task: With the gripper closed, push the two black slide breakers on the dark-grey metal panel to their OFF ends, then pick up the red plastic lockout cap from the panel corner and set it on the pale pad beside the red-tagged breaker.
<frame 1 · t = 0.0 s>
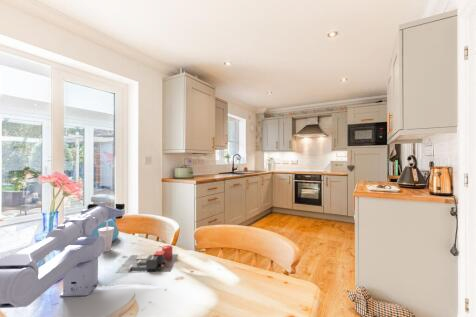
hand: (113, 206, 92), 22 cm above the table, tool horizontal, fingers open, 7 cm apart
smoothie: (105, 250, 102), on the table
breaker panel: (149, 265, 87), on the table
lockout cap: (167, 257, 93), point 1 cm above the table, touching breaker panel
breaker tagged: (159, 257, 87), point 4 cm above the table, slide at 0.0 cm
breaker plain: (152, 262, 83), point 3 cm above the table, slide at 0.0 cm
teapot: (96, 242, 113), on the table
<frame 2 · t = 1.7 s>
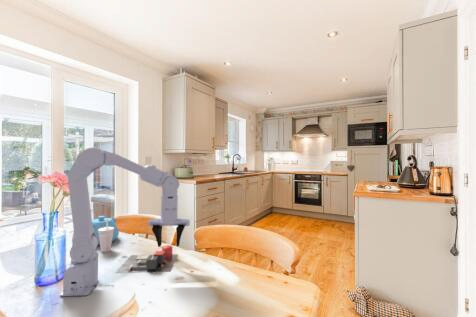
hand: (168, 245, 83), 9 cm above the table, tool pointing down, fingers open, 6 cm apart
nothing on the table moved.
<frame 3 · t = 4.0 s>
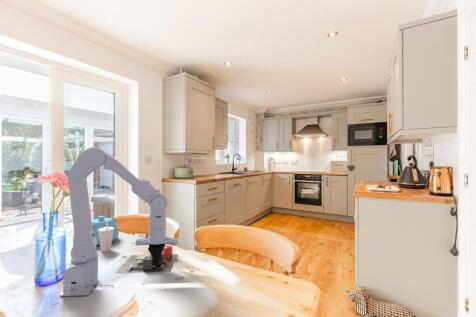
hand: (156, 264, 83), 3 cm above the table, tool pointing down, fingers closed
breaker plain: (148, 262, 83), point 3 cm above the table, slide at 1.3 cm, touching gripper
everything else where it was.
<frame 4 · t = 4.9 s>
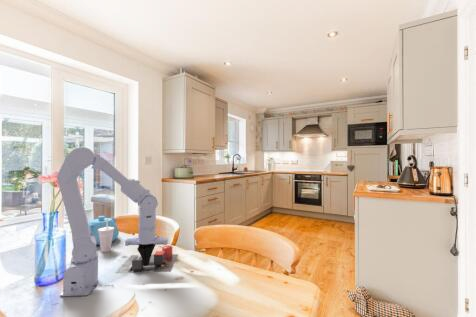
hand: (146, 264, 82), 3 cm above the table, tool pointing down, fingers closed
breaker plain: (138, 262, 82), point 3 cm above the table, slide at 4.9 cm, touching gripper
everything else where it was.
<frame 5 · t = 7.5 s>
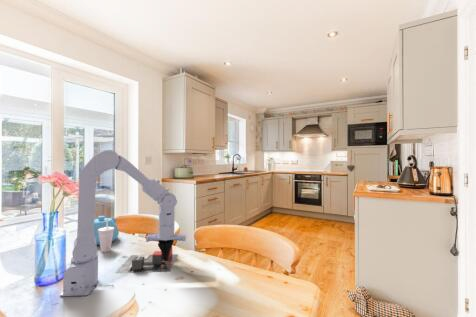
hand: (166, 259, 87), 3 cm above the table, tool pointing down, fingers closed
breaker tagged: (158, 257, 87), point 4 cm above the table, slide at 0.6 cm, touching gripper
breaker plain: (138, 262, 82), point 3 cm above the table, slide at 4.9 cm
everything else where it was.
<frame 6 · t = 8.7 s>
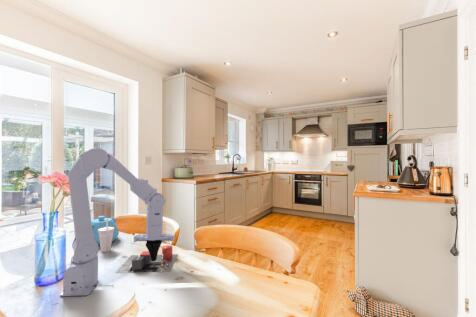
hand: (154, 260, 87), 3 cm above the table, tool pointing down, fingers closed
breaker tagged: (145, 257, 86), point 4 cm above the table, slide at 5.0 cm, touching gripper
everything else where it was.
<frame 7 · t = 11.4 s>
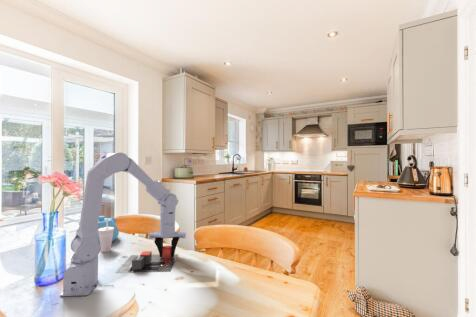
hand: (167, 256, 93), 2 cm above the table, tool pointing down, fingers closed on lockout cap, 4 cm apart
lockout cap: (167, 257, 93), point 1 cm above the table, touching breaker panel, gripper
breaker tagged: (145, 257, 86), point 4 cm above the table, slide at 5.0 cm
everything else where it was.
when the fingers open (3 cm above the table, at t = 14.4 s): lockout cap drops 1 cm, resting on breaker panel.
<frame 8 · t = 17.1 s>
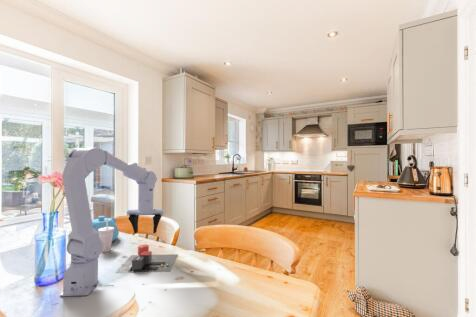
hand: (145, 232, 95), 10 cm above the table, tool pointing down, fingers open, 7 cm apart
lockout cap: (143, 256, 92), point 2 cm above the table, touching breaker panel
everything else where it was.
at the end: breaker plain slide at 4.9 cm; breaker tagged slide at 5.0 cm; lockout cap 0.1 cm from the target spot, point 1.6 cm above the table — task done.
